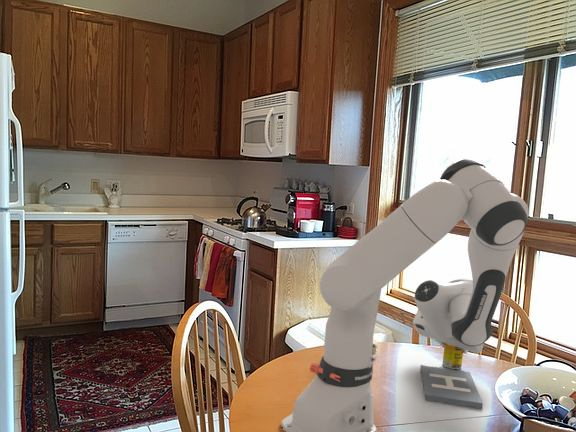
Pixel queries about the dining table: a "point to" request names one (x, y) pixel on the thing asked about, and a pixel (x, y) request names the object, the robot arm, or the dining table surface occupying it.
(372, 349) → the pale yellow block
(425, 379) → the gray board
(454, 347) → the supplement bottle
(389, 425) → the dining table surface
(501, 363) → the dining table surface
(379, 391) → the dining table surface
